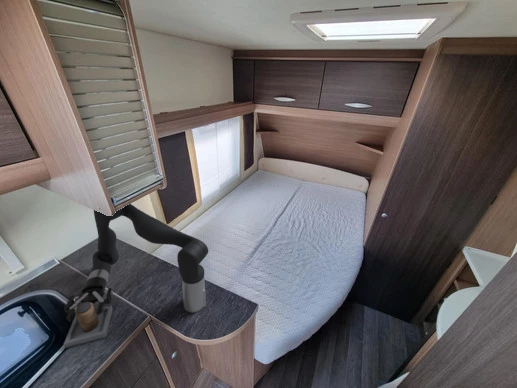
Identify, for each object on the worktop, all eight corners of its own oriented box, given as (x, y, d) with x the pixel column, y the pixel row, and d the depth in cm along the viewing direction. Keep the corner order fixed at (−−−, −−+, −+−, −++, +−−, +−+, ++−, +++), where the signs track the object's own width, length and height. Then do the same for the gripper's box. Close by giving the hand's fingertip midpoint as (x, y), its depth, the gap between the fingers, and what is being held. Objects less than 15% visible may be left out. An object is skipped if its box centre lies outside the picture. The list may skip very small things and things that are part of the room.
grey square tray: (112, 309, 88) (111, 305, 87) (105, 337, 78) (104, 333, 77) (77, 317, 83) (76, 313, 82) (65, 348, 74) (63, 344, 73)
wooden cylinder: (100, 317, 84) (94, 298, 79) (96, 329, 79) (90, 310, 75) (84, 321, 82) (77, 302, 77) (80, 334, 77) (72, 315, 73)
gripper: (73, 280, 85) (55, 315, 71) (114, 272, 90) (105, 304, 77) (78, 293, 88) (62, 329, 74) (117, 285, 93) (109, 317, 80)
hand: (84, 316), depth 76 cm, fingers open, 8 cm apart
